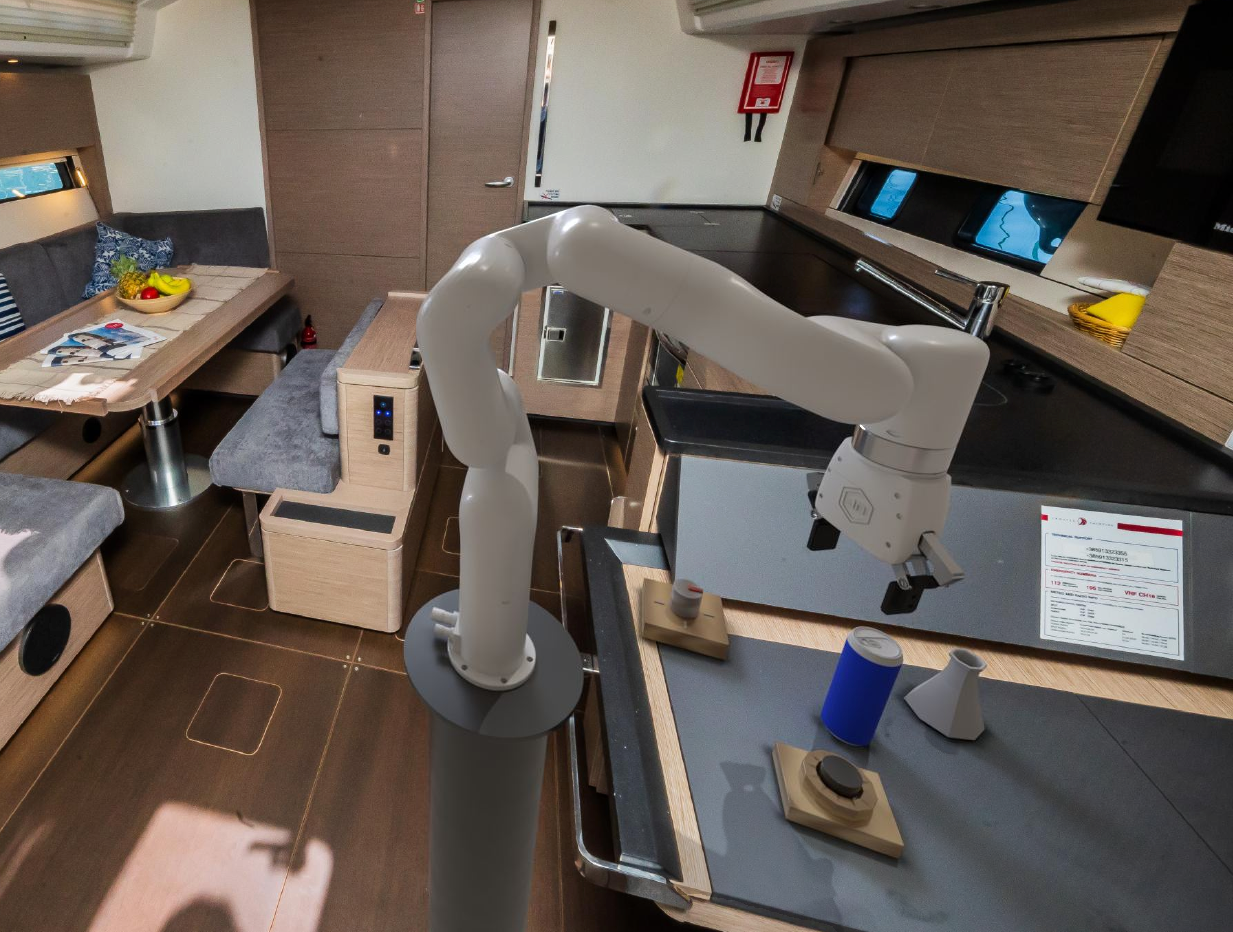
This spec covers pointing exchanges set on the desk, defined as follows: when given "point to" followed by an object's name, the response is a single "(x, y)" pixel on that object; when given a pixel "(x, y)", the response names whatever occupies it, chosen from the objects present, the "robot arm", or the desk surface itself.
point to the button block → (835, 802)
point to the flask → (952, 697)
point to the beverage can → (861, 685)
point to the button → (840, 776)
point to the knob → (686, 598)
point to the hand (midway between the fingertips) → (855, 578)
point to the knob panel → (684, 621)
